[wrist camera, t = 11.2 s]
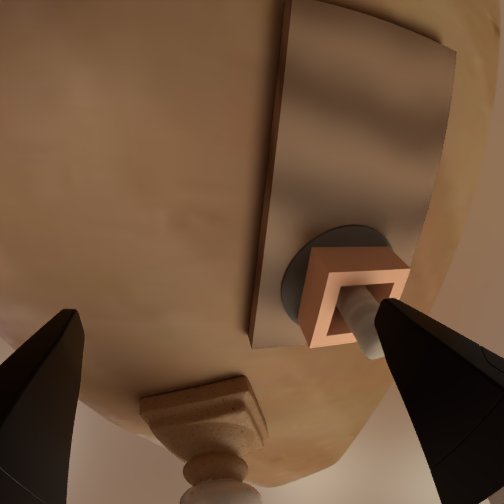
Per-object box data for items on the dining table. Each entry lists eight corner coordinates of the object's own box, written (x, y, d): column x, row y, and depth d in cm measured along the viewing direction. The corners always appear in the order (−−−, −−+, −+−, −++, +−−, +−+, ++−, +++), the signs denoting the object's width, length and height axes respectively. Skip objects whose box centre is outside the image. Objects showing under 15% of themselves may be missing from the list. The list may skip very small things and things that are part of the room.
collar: (311, 247, 20) (329, 272, 18) (388, 246, 22) (410, 268, 19) (296, 319, 23) (309, 348, 21) (366, 312, 25) (383, 337, 22)
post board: (284, 1, 14) (346, -41, 7) (442, 51, 16) (529, 60, 10) (248, 335, 26) (269, 418, 19) (375, 323, 28) (417, 387, 21)
